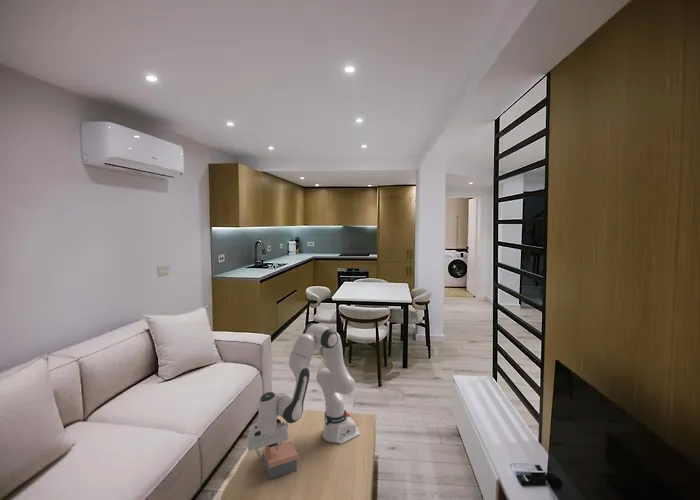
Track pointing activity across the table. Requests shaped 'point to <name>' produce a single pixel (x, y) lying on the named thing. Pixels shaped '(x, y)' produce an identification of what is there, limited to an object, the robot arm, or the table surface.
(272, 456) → the lid
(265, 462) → the tub
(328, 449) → the table surface
